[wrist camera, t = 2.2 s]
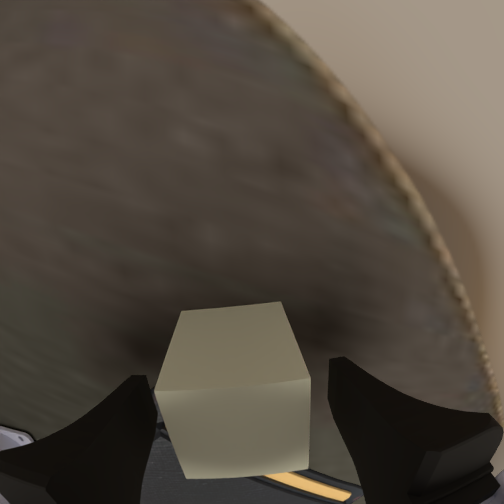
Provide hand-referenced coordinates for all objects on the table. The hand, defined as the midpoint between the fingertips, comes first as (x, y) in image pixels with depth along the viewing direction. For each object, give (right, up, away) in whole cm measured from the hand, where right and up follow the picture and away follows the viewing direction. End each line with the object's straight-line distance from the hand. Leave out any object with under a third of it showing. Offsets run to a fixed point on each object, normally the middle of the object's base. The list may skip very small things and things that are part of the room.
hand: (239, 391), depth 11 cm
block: (0, +1, +3) cm, 3 cm away
